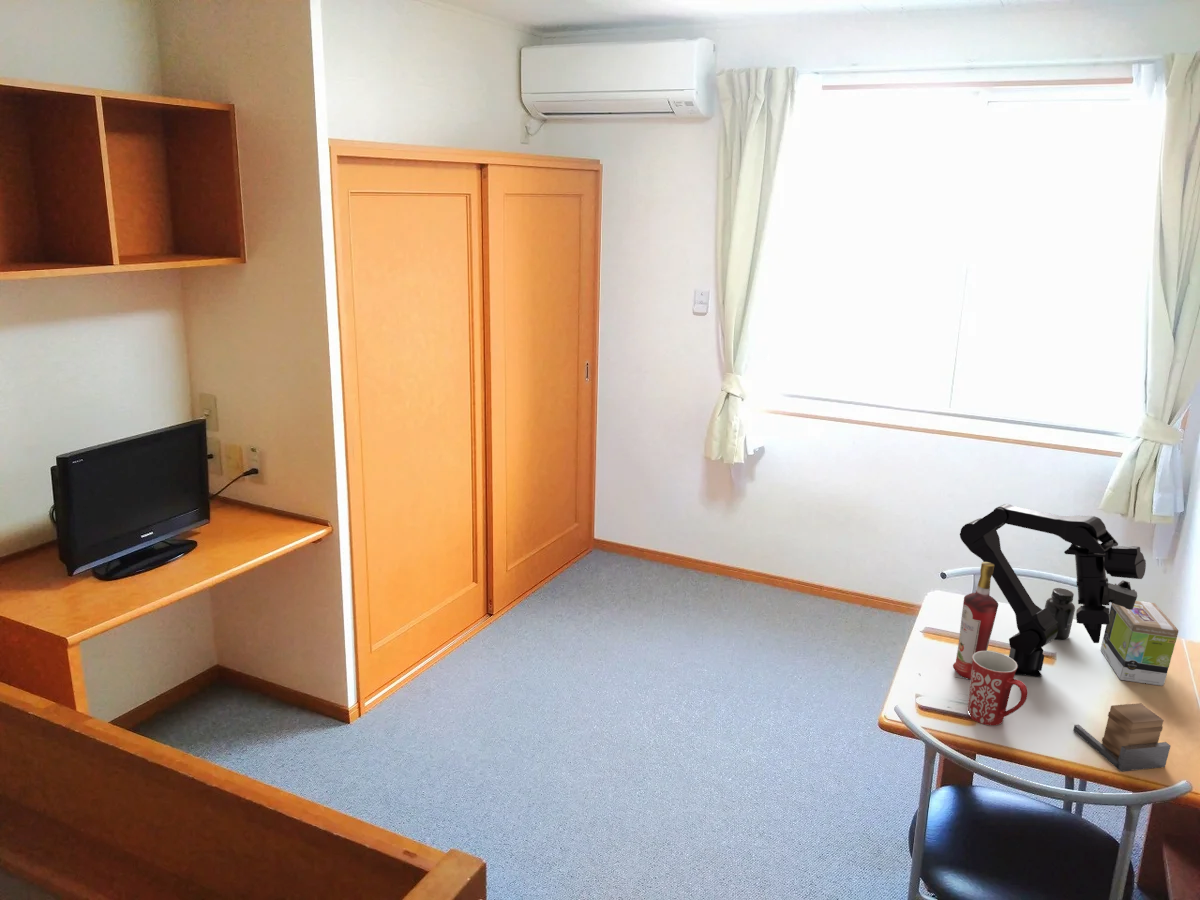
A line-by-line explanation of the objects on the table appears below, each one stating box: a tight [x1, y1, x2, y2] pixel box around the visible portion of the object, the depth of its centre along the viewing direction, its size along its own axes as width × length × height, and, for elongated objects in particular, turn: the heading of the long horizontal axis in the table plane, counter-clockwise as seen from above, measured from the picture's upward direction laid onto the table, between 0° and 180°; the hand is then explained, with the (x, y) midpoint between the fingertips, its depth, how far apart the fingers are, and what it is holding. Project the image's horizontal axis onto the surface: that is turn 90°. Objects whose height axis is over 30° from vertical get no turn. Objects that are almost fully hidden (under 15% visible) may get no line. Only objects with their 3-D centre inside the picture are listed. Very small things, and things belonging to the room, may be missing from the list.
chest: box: [1101, 702, 1164, 758], centre depth 184 cm, size 6×7×10 cm
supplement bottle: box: [1044, 587, 1076, 641], centre depth 232 cm, size 7×7×12 cm
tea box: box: [1100, 600, 1179, 686], centre depth 217 cm, size 15×10×15 cm, turn 168°
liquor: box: [952, 561, 999, 680], centre depth 209 cm, size 7×7×28 cm
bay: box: [1073, 724, 1171, 772], centre depth 187 cm, size 14×10×5 cm
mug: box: [967, 650, 1028, 727], centre depth 193 cm, size 13×9×14 cm
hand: (1096, 642), depth 203 cm, fingers closed
